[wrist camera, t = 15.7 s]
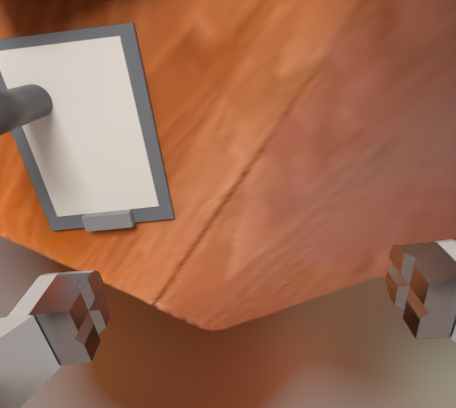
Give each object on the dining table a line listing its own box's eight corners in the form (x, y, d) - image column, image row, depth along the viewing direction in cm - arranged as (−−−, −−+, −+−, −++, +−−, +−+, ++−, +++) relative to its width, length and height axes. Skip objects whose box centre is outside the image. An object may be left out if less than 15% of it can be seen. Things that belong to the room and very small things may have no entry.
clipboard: (-22, 42, 33) (-34, 42, 31) (134, 22, 32) (129, 21, 31) (54, 228, 43) (47, 235, 41) (174, 216, 42) (172, 223, 40)
